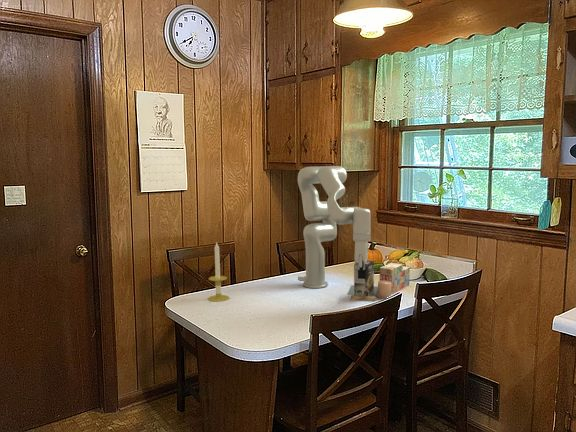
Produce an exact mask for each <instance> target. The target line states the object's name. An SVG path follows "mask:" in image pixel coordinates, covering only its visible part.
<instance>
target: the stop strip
mask: <svg viewBox="0 0 576 432" xmlns="http://www.w3.org/2000/svg"><path fill="white" fill-rule="evenodd" d="M350 301H364V302H365V301H369V302H376V296H371V297H367V296H354V295H350Z"/></svg>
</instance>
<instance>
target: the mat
mask: <svg viewBox="0 0 576 432" xmlns="http://www.w3.org/2000/svg"><path fill="white" fill-rule="evenodd" d="M377 291H378V285H374V294H373V295H372V296H371V297H377ZM347 295H350V296H354V284H353V285H350V287H349V289H348V292H347Z"/></svg>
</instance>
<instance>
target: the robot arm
mask: <svg viewBox="0 0 576 432" xmlns="http://www.w3.org/2000/svg"><path fill="white" fill-rule="evenodd" d="M347 178H348V173H347V171H346V169H345V168H344V167H343V166H341V165H332V166H331V165H330V166H327V165H326V166H306V167H302V168H300V170H299V171H298V174H297V184H298V188H299V191H300V194H301V202H302V207H303V215H304V218H305V220H306V221H309V222H316V221H317V222H316V223H310V224H307V225H306V226H304V228H303V234H302V235H303V240H304V247H305V275H304V276H297V281H299V282H303V283H302V286H303V287H305V288H309V289H324V288H327V287H328V285H329V283H328V281H326V279H325V278H326V274H325V273H326V271H325V266H326V263H325V260H326V259H325V256H326V255H325V249H324V247H323V245H322V243H323V242H332V241H334V240H335V239H336V238H337V235H338V228H337V225H339V226H342V225H343V226H344V225H350V224H351V225H352V241H353V242H354V243H355V244H354V260H353V261H354V264H356V263H357V262H358V279H365V278H366V269H365V264H366V262H367V261H368V256H369V255H368V253H369V248H368V247H369V242H371V240H372V239H371V238H372V237H371V235H372V234H371V230H372V229H371V227H372V226H371V225H372V224H371V223H372V222H371V221H372V220H371V219H372V217H371V210H370V209H369V208H364V207H363V208H362V207H360V206H345V207H340V206H339V204H338V202H337V200H339V199H340V198H341V197H343V196H344V194H346V193H345V192H346V187H345V185H344V183H345V182H346V180H347ZM315 184H317V185H318V184H321V186H322V187H323V189H324V191H325V193H326V194H327V196H328V198H327V199H326V200H327V201H326V200H325V201H320V196H319V192H318V190H317V188H316V186H314V185H315ZM318 221H322V222H318Z"/></svg>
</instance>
